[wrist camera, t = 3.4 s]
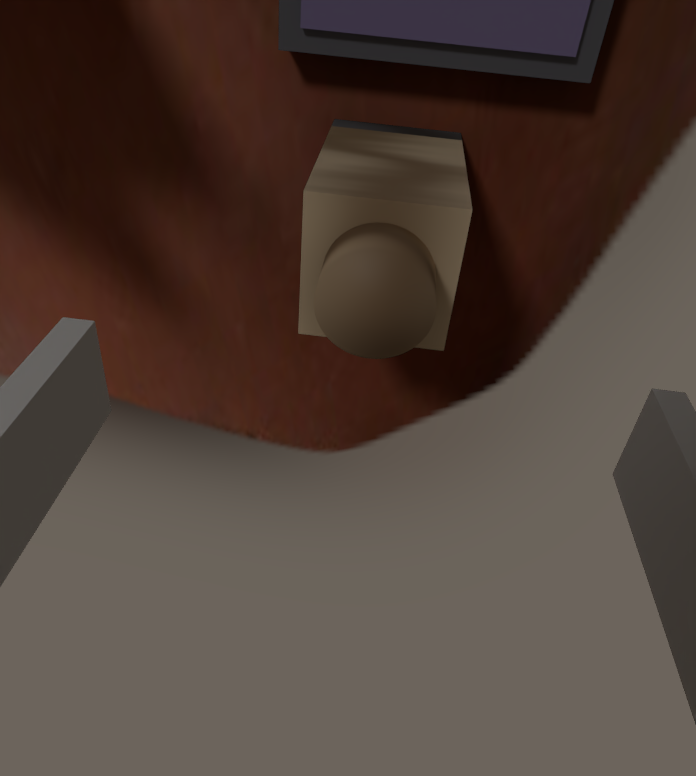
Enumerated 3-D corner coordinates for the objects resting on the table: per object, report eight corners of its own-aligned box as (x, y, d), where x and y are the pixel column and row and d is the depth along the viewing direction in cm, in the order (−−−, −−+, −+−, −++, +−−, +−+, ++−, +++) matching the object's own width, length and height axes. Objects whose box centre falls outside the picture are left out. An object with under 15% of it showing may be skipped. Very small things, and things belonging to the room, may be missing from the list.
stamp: (327, 237, 28) (288, 366, 20) (334, 119, 25) (292, 216, 17) (439, 250, 28) (444, 386, 20) (460, 133, 25) (477, 237, 17)
